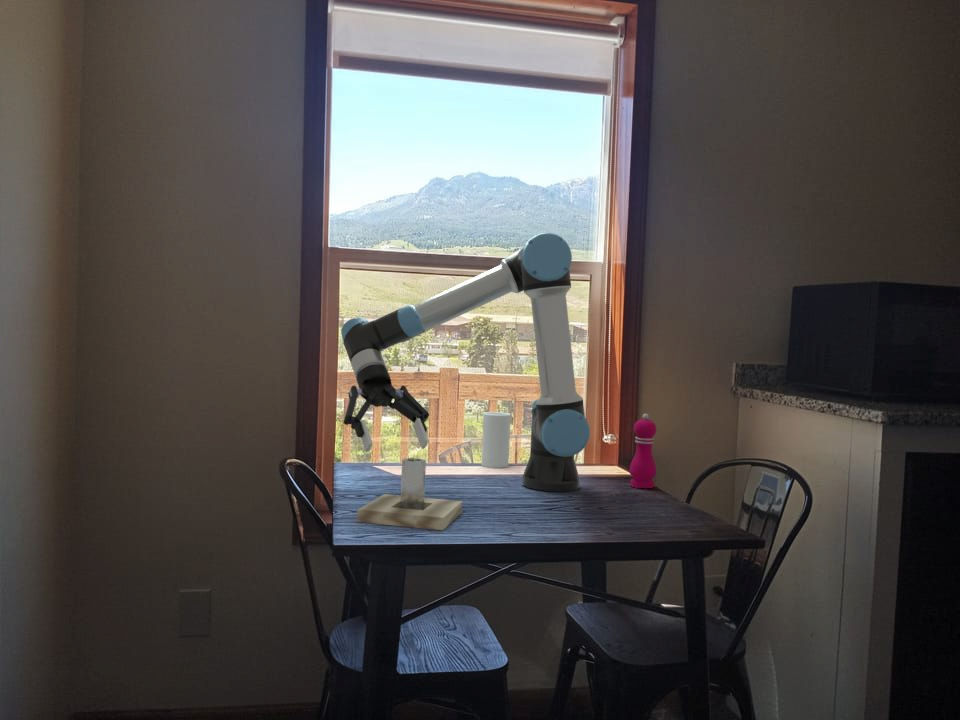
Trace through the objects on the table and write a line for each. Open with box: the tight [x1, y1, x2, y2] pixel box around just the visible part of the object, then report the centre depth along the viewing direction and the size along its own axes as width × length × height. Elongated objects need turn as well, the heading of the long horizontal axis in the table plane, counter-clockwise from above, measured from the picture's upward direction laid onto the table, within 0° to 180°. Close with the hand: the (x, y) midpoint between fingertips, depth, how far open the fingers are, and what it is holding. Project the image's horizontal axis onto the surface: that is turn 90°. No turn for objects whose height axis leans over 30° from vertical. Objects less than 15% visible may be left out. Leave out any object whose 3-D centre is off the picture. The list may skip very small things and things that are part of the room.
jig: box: [356, 493, 463, 531], centre depth 154 cm, size 18×16×2 cm
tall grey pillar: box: [400, 457, 427, 510], centre depth 154 cm, size 5×5×12 cm
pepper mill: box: [629, 413, 658, 490], centre depth 198 cm, size 7×7×20 cm
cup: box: [481, 411, 512, 469], centre depth 222 cm, size 8×8×16 cm
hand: (397, 446), depth 159 cm, fingers open, 13 cm apart
